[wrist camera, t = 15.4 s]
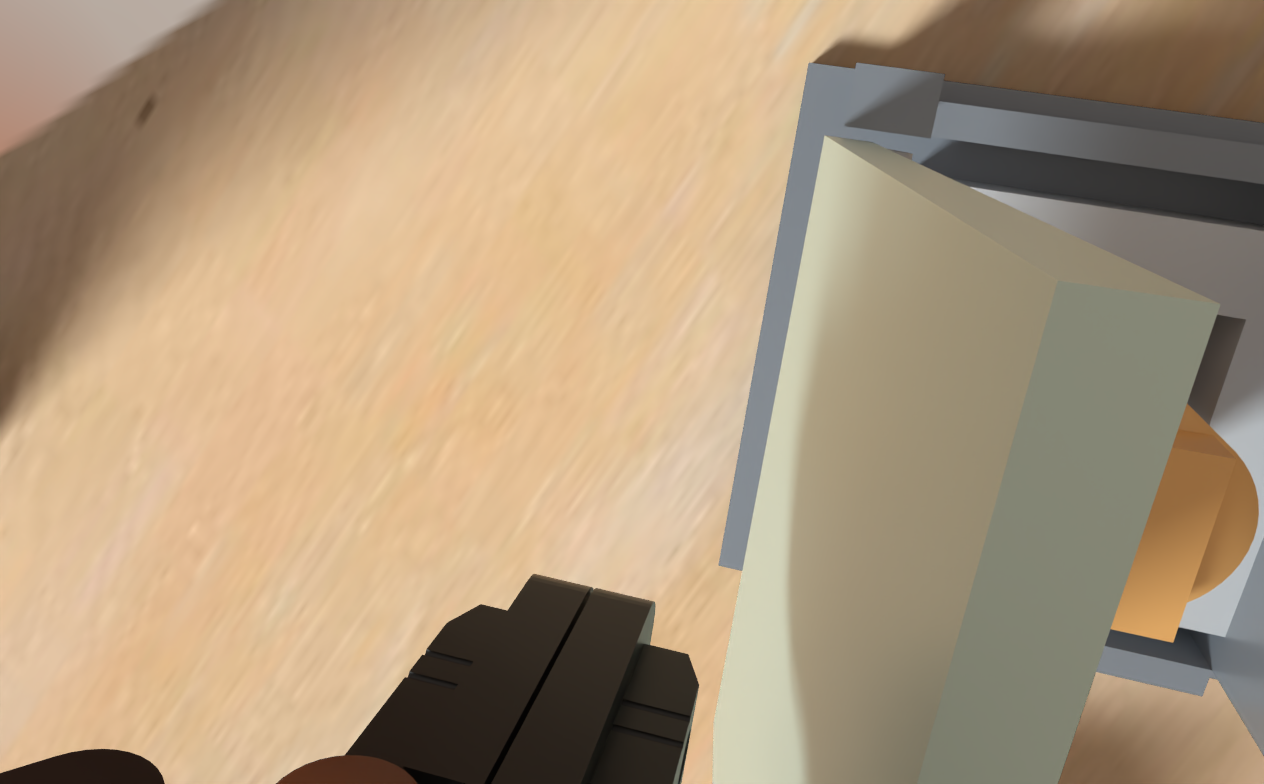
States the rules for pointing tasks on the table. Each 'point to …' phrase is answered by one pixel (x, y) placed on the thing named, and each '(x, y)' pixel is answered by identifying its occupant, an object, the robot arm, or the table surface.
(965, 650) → the lid
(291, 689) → the table surface
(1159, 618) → the pin
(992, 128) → the housing
